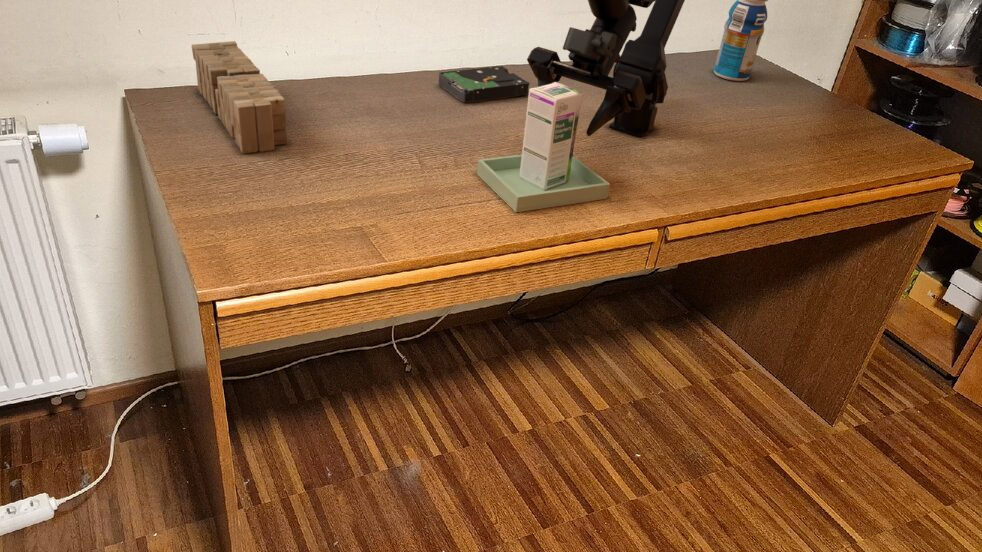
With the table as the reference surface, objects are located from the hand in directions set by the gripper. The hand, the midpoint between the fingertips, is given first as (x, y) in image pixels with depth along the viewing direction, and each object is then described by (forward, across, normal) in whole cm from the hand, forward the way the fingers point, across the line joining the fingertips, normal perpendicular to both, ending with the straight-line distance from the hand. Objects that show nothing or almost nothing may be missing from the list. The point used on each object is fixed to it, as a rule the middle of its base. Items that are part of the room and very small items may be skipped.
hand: (561, 125), depth 122 cm
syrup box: (+8, 0, +4) cm, 9 cm away
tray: (+9, 0, +4) cm, 10 cm away
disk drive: (-11, -30, +24) cm, 40 cm away
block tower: (+19, -51, -6) cm, 55 cm away
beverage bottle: (-47, +3, +61) cm, 77 cm away
